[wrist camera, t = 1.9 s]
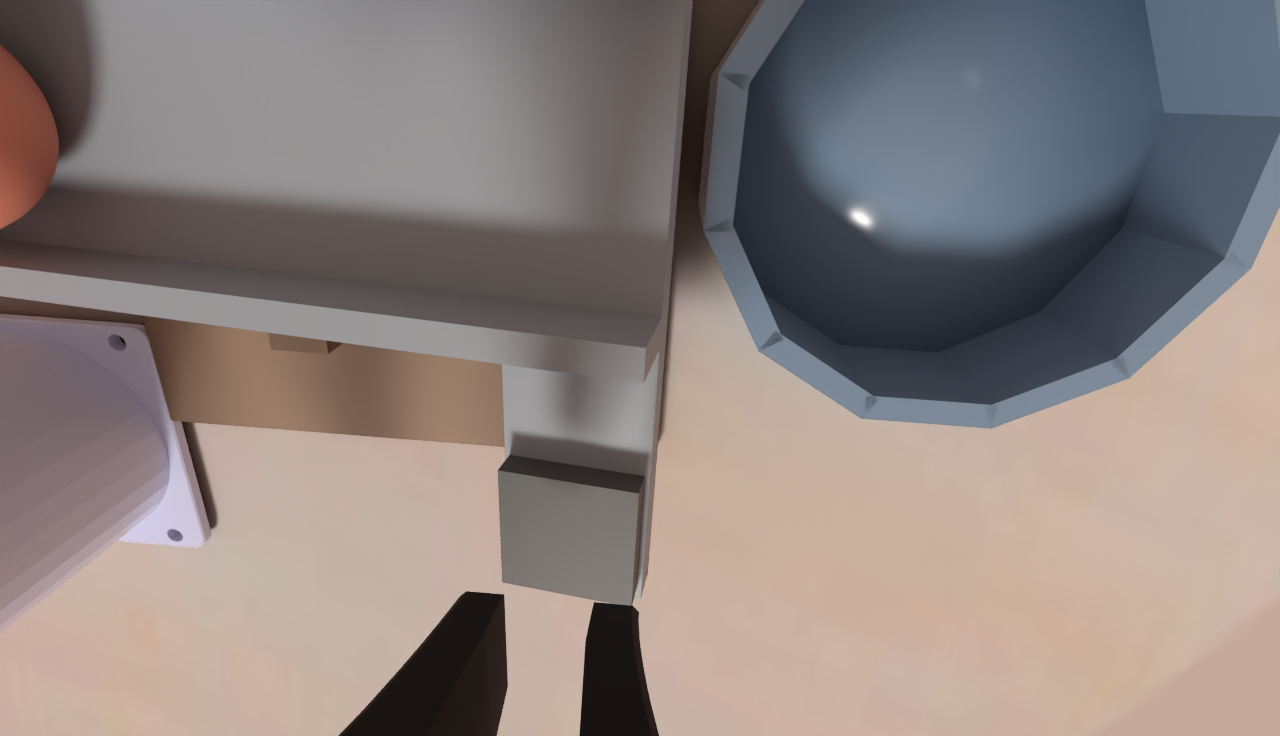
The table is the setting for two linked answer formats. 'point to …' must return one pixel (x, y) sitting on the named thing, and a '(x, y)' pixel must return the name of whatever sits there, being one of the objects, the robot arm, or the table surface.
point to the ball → (23, 141)
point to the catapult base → (323, 385)
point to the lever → (392, 211)
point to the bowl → (987, 190)
